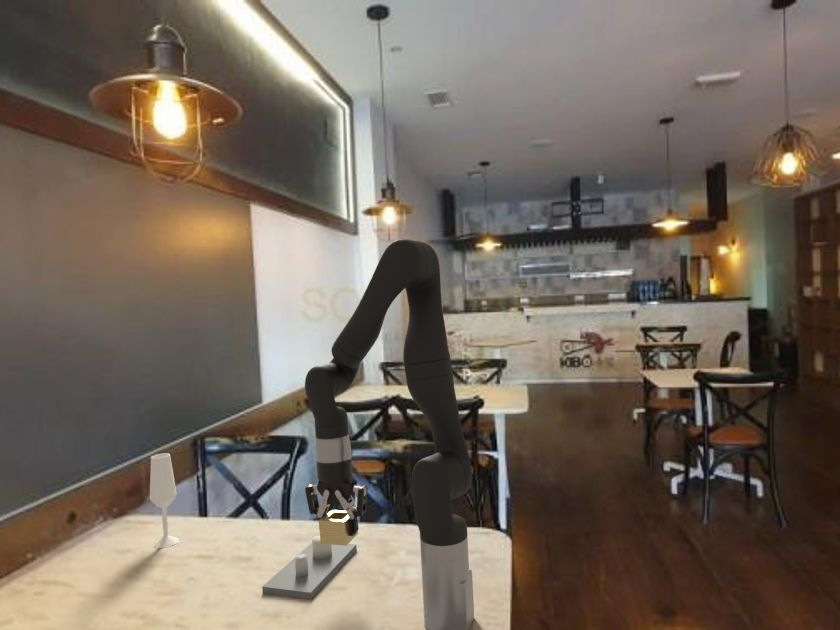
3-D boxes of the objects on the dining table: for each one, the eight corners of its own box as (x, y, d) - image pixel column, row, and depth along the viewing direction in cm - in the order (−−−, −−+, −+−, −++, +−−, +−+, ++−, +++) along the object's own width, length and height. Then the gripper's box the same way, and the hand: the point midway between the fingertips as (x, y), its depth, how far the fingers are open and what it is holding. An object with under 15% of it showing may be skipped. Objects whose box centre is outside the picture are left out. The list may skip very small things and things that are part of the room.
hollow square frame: (357, 533, 126) (356, 511, 125) (346, 545, 120) (344, 521, 120) (333, 532, 127) (331, 510, 127) (320, 543, 122) (318, 520, 122)
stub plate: (356, 550, 146) (355, 528, 146) (311, 599, 123) (309, 574, 123) (314, 546, 150) (313, 525, 150) (262, 593, 127) (261, 568, 127)
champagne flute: (184, 537, 160) (178, 452, 159) (170, 548, 153) (164, 459, 152) (162, 537, 161) (156, 452, 160) (147, 547, 154) (141, 459, 153)
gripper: (295, 460, 122) (300, 539, 122) (357, 462, 117) (363, 543, 118) (312, 451, 129) (317, 525, 129) (371, 452, 125) (376, 528, 125)
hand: (339, 533), depth 124 cm, fingers closed on hollow square frame, 6 cm apart
